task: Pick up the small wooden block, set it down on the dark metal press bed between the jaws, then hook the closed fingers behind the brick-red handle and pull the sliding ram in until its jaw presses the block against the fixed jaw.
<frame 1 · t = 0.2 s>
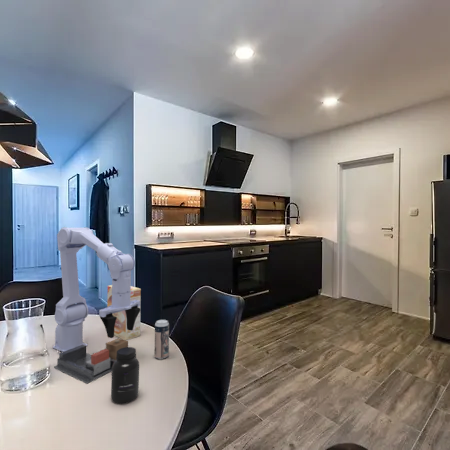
hand: (120, 333, 92), 10 cm above the table, tool pointing down, fingers open, 7 cm apart
supplement bottle: (125, 397, 73), on the table
press: (82, 365, 90), on the table
coffeecake box: (123, 334, 117), on the table
ram: (98, 360, 86), point 4 cm above the table, slide at 0.0 cm
beer can: (161, 357, 96), on the table
wooden block: (116, 356, 96), on the table
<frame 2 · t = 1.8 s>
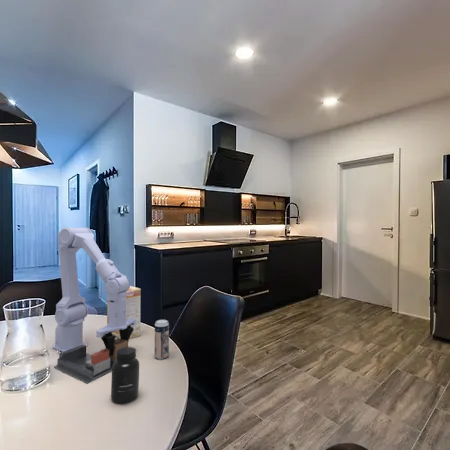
hand: (116, 351, 96), 2 cm above the table, tool pointing down, fingers closed on wooden block, 5 cm apart
wooden block: (116, 356, 96), on the table, touching gripper
everything else where it was.
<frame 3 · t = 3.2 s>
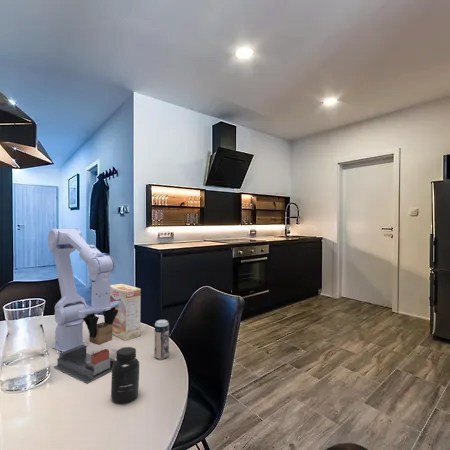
hand: (100, 333, 93), 9 cm above the table, tool pointing down, fingers closed on wooden block, 5 cm apart
wooden block: (100, 340, 93), point 7 cm above the table, touching gripper
everything else where it was.
when the fingers open (4 cm above the table, at t = 5.0 s): wooden block drops 1 cm, resting on press.
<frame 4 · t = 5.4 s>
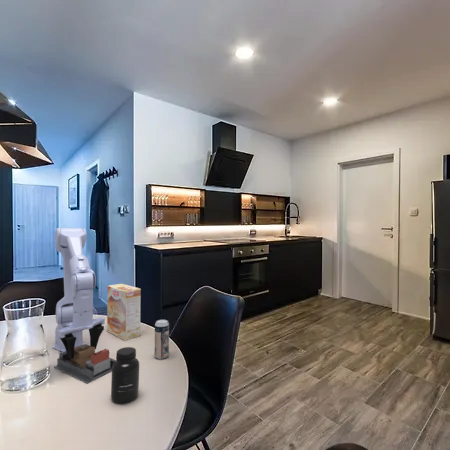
hand: (82, 352, 90), 4 cm above the table, tool pointing down, fingers open, 7 cm apart
wooden block: (82, 364, 89), resting on press
everything else where it was.
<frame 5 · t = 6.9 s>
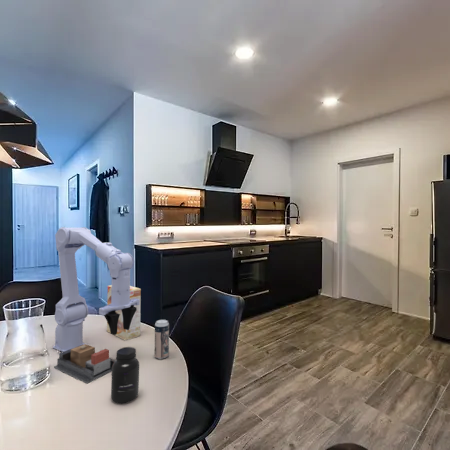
hand: (120, 331, 93), 10 cm above the table, tool pointing down, fingers open, 4 cm apart
nothing on the table moved.
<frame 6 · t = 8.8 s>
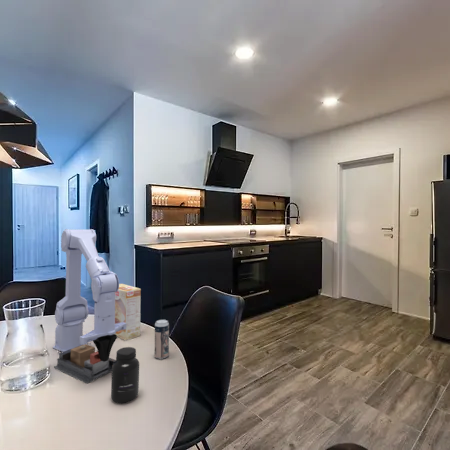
hand: (104, 360, 84), 4 cm above the table, tool pointing down, fingers closed, pressing on ram
ram: (97, 360, 86), point 4 cm above the table, slide at 0.6 cm, touching gripper
everything else where it was.
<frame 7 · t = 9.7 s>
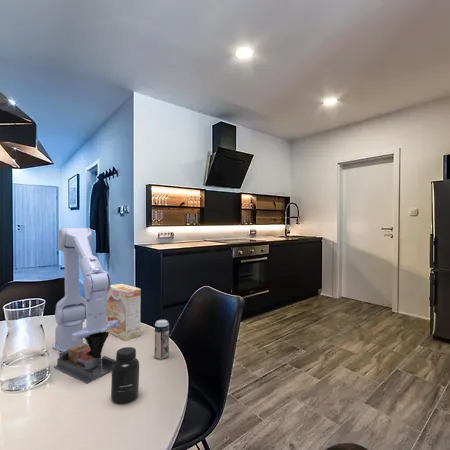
hand: (96, 357, 86), 4 cm above the table, tool pointing down, fingers closed, pressing on ram
ram: (89, 357, 88), point 4 cm above the table, slide at 4.4 cm, touching gripper, wooden block
wooden block: (80, 363, 90), resting on press, touching ram
everything else where it was.
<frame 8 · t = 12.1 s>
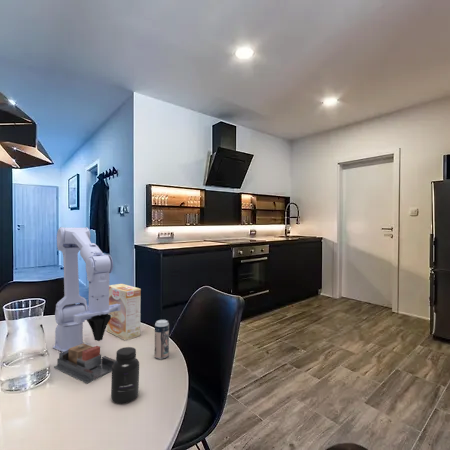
hand: (98, 339, 86), 10 cm above the table, tool pointing down, fingers closed
ram: (89, 357, 88), point 4 cm above the table, slide at 4.4 cm, touching wooden block
everything else where it was.
at the end: ram slide at 4.4 cm; wooden block inside the target area (0.7 cm from its centre), point 0.5 cm above the table; wooden block tilted 0° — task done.
